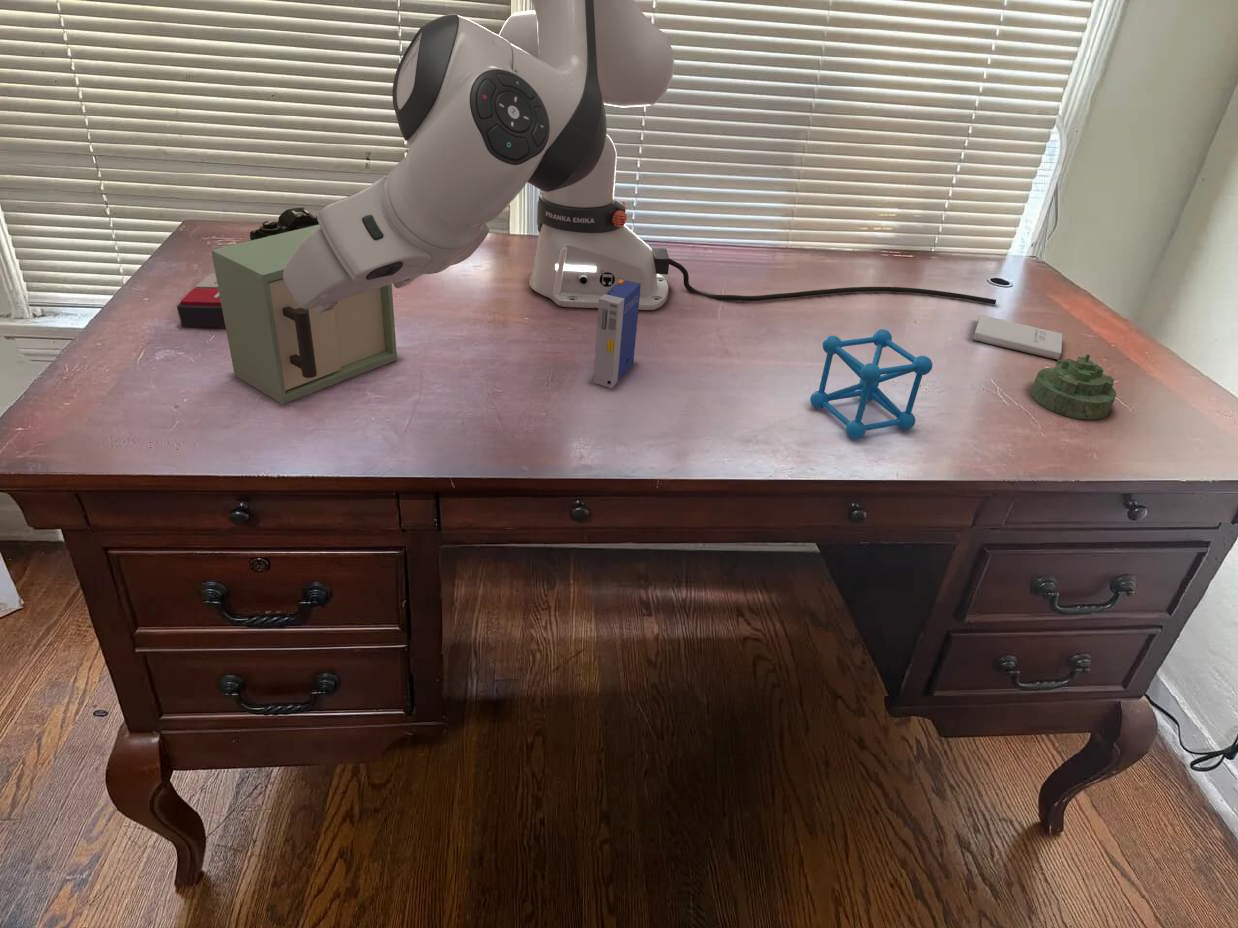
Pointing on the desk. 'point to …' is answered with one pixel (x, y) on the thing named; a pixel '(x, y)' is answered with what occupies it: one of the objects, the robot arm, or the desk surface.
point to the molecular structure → (870, 382)
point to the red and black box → (202, 305)
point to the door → (303, 338)
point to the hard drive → (1018, 337)
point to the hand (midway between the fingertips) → (360, 292)
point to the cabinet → (253, 327)
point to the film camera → (285, 223)
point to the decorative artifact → (1075, 389)
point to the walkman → (616, 332)
